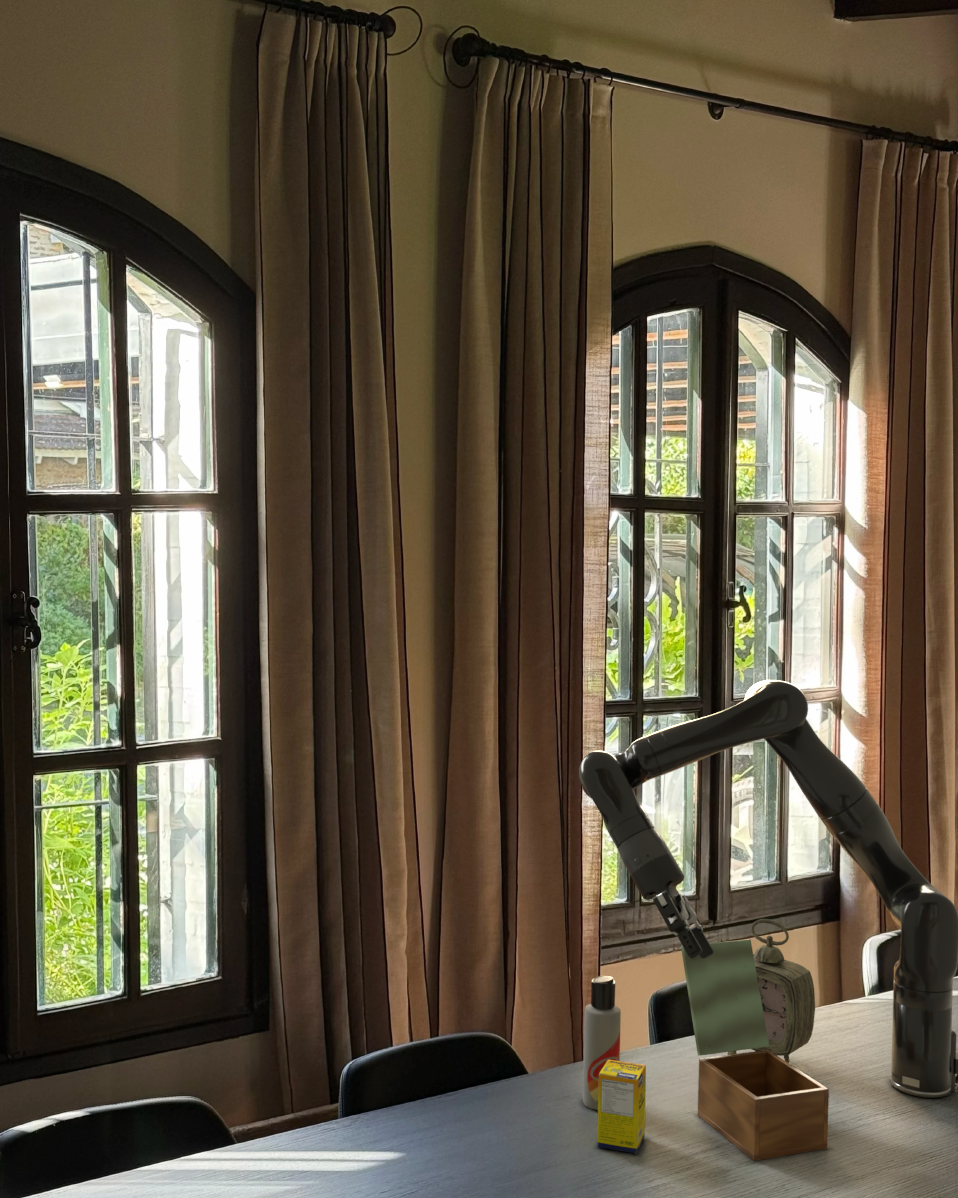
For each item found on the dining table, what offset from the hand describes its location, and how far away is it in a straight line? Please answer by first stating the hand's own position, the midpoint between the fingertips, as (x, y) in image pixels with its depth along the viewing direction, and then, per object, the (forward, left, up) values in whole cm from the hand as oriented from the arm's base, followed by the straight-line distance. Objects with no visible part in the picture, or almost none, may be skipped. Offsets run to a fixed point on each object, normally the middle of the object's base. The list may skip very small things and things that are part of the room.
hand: (702, 956), depth 183 cm
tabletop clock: (-22, -14, -25) cm, 36 cm away
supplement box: (+16, +5, -25) cm, 30 cm away
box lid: (-6, -3, -8) cm, 10 cm away
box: (-6, +8, -25) cm, 27 cm away
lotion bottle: (+13, -8, -25) cm, 29 cm away
